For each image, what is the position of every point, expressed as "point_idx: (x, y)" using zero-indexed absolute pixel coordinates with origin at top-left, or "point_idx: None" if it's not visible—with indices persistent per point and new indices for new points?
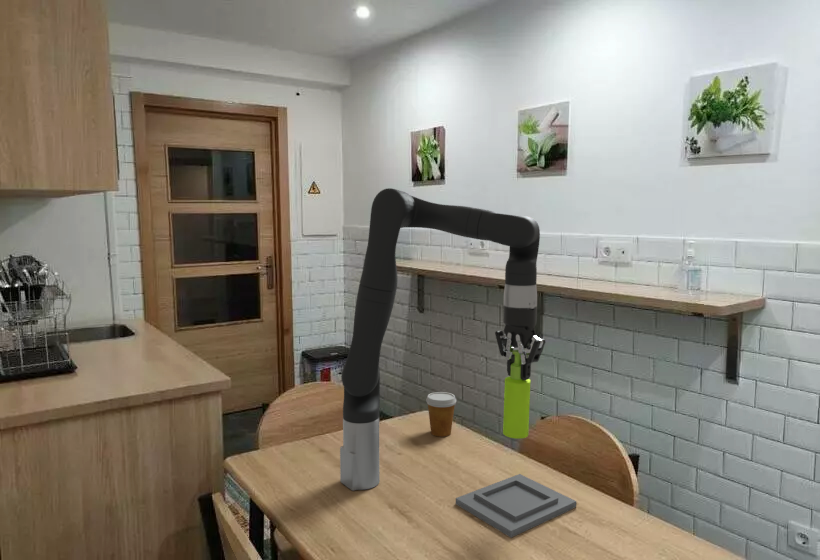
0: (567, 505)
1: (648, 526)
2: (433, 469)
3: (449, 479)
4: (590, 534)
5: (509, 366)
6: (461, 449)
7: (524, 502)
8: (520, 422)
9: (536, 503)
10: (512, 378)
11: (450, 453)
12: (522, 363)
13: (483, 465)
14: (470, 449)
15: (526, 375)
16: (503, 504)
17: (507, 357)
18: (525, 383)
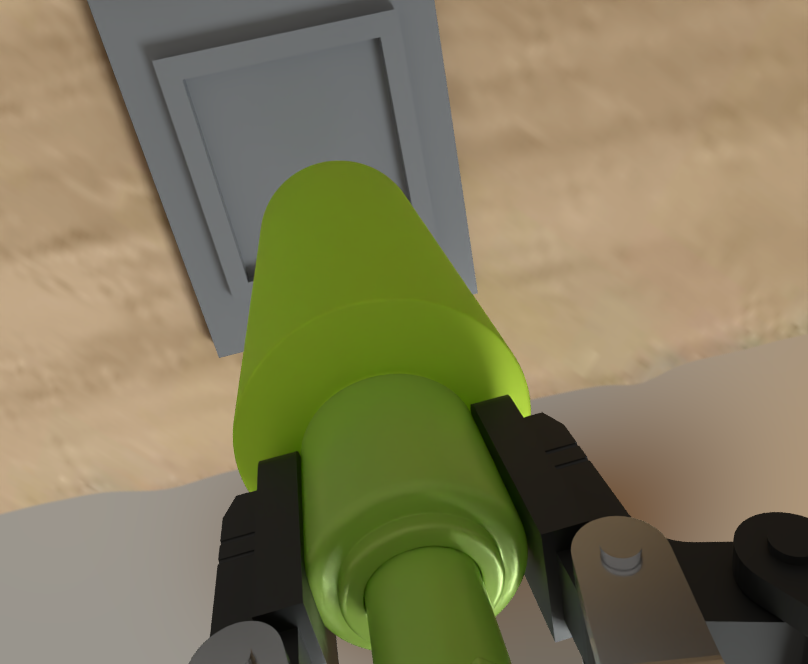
0: (203, 314)
1: (41, 471)
2: (713, 10)
3: (606, 27)
4: (39, 286)
5: (521, 469)
6: (777, 218)
7: (276, 182)
8: (257, 254)
9: (254, 220)
10: (373, 378)
11: (778, 159)
12: (258, 628)
13: (627, 224)
14: (756, 249)
15: (224, 527)
16: (293, 94)
17: (614, 548)
18: (234, 452)
